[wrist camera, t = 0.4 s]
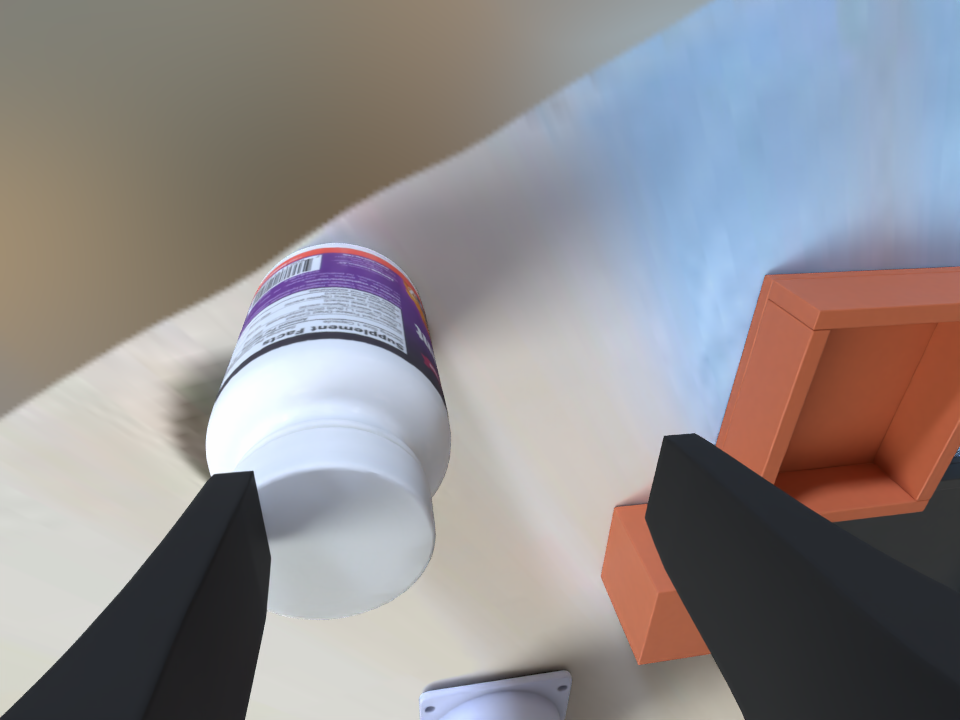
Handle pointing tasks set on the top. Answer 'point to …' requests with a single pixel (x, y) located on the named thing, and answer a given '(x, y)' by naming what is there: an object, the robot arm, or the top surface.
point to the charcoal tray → (921, 532)
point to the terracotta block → (646, 593)
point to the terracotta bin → (850, 389)
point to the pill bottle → (336, 429)
